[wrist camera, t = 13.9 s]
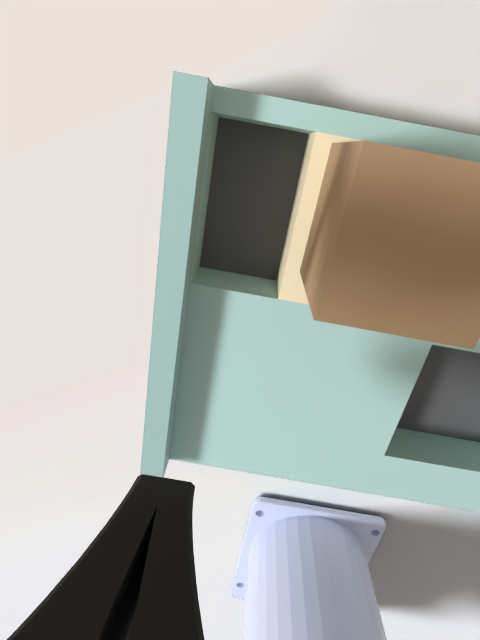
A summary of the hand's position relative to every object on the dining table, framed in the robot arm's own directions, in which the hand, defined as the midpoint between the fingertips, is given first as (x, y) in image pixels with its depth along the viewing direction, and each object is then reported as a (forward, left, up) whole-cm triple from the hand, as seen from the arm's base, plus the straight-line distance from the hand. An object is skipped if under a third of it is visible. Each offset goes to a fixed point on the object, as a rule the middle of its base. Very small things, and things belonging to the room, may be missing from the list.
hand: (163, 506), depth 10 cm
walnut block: (+7, -5, -7) cm, 11 cm away
